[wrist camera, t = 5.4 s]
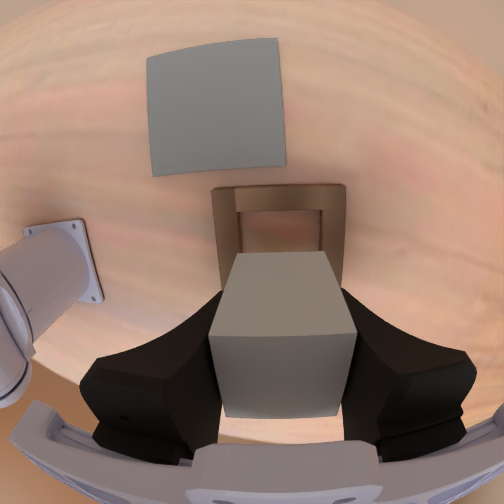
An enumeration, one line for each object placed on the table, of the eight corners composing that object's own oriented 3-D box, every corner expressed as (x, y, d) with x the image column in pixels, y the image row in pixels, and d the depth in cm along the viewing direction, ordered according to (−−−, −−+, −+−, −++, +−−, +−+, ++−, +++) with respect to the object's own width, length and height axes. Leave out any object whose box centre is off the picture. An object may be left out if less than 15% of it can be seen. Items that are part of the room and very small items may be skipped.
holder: (226, 298, 21) (224, 306, 20) (215, 187, 18) (211, 190, 17) (336, 295, 20) (339, 304, 19) (341, 184, 17) (346, 186, 16)
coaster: (156, 175, 18) (152, 176, 17) (150, 60, 15) (146, 58, 14) (285, 165, 17) (285, 166, 16) (276, 40, 14) (276, 37, 13)
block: (243, 323, 14) (225, 416, 8) (237, 253, 13) (208, 335, 7) (319, 322, 14) (336, 415, 8) (324, 250, 12) (357, 332, 7)
